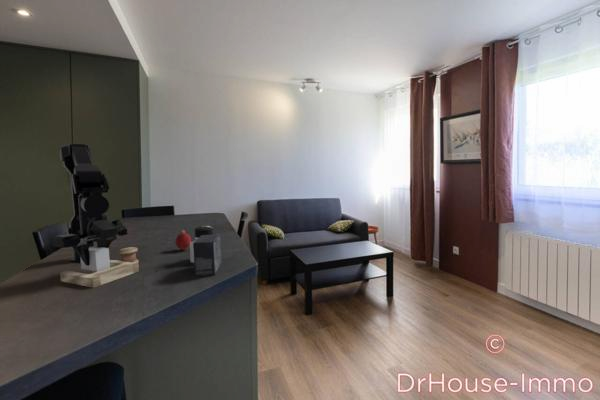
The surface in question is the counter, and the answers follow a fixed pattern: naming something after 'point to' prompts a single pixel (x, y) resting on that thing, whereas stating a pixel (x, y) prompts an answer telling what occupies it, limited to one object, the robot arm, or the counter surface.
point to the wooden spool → (129, 254)
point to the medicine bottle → (198, 232)
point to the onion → (183, 240)
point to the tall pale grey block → (97, 259)
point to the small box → (207, 255)
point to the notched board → (101, 274)
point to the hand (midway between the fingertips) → (95, 263)
